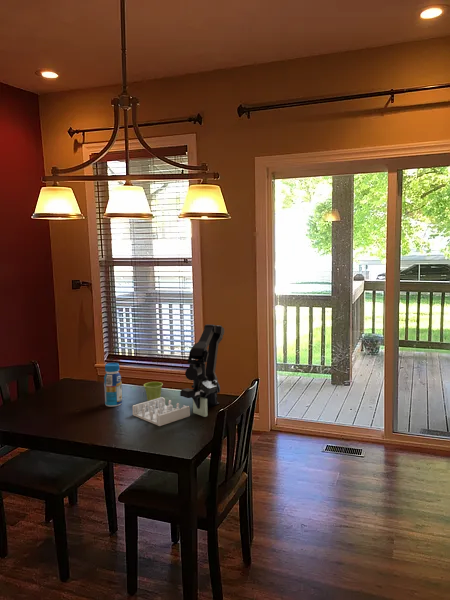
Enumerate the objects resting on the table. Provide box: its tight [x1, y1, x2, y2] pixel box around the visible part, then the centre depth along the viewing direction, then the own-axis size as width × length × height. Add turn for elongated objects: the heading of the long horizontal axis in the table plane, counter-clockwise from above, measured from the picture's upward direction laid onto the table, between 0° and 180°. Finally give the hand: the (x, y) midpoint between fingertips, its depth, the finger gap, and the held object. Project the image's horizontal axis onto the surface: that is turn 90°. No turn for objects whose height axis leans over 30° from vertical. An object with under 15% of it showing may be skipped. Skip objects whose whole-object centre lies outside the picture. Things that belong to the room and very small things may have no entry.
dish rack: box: [132, 396, 191, 427], centre depth 216 cm, size 17×20×4 cm
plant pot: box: [143, 381, 164, 401], centre depth 236 cm, size 9×9×9 cm
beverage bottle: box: [103, 362, 123, 408], centre depth 232 cm, size 8×8×20 cm
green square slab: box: [192, 397, 209, 418], centre depth 216 cm, size 2×8×8 cm, turn 45°
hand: (200, 407), depth 216 cm, fingers closed on green square slab, 2 cm apart
